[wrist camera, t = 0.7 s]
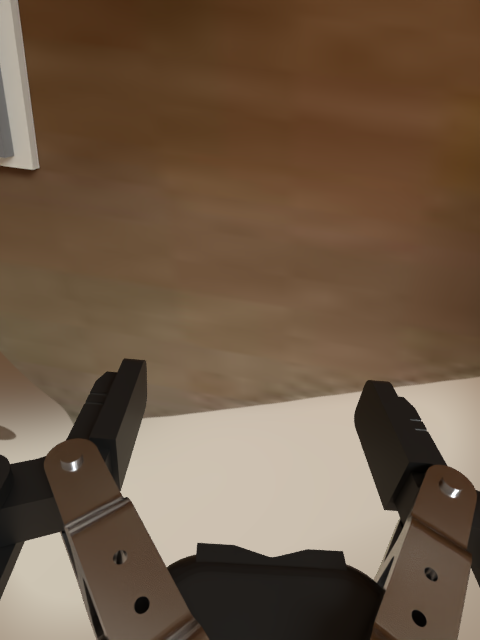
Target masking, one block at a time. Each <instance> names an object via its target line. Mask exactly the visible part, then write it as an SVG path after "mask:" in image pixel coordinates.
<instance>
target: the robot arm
mask: <svg viewBox="0 0 480 640" xmlns="http://www.w3.org/2000/svg"><path fill="white" fill-rule="evenodd" d="M146 401H147V368H146V361H145V360H136V359H123V361H122V363H121V366H120V368H119V370H118V373H117V372H106V373H105V374H104V375H102V376H101V377H100V378H99V379H98V380H96V382H95V384H94V386H93V388H92V390H91V392H90V394H89V396H88V398H87V400H86V403H85V404H84V406H83V408H82V410H81V412H80V414H79V416H78V418H77V420H76V422H75V424H74V426H73V428H72V430H71V432H70V434H69V436H68V438H67V439H66V441H64V442H62V443H60V444H58V445H56V446H55V447H54V448H52V450H51V451H50V452H49V453H48V454H47V456H45V457H42V458H39V459H35V460H29V461H25V462H19V463H14V464H10V463H9V461H8V459H7V458H5V457H4V456H2V455H0V599H1V596H2V594H3V592H4V589H5V587H6V585H7V582H8V580H9V577H10V575H11V573H12V570H13V568H14V565H15V563H16V560H17V558H18V556H19V553H20V551H21V549H22V546H23V544H24V542H25V541H26V540H30V539H34V538H38V537H42V536H46V535H50V534H53V533H57V532H60V533H61V536H62V539H63V542H64V544H65V547H66V550H67V553H68V556H69V558H70V562H71V564H72V567H73V570H74V573H75V576H76V579H77V582H78V585H79V588H80V591H81V594H82V598H83V601H84V604H85V607H86V610H87V613H88V617H89V620H90V622H91V625H92V628H93V631H94V634H95V636H96V640H457V638H458V633H459V627H460V623H461V617H462V612H463V607H464V600H465V595H466V590H467V585H468V580H469V574H470V569H471V568H472V571H473V573H474V575H475V578H476V580H477V582H478V584H479V587H480V491H477V490H475V488H474V486H473V485H472V483H471V482H470V481H469V480H468V478H466V477H465V476H464V475H463V474H462V473H460V472H459V471H457V470H455V469H453V468H451V467H448V466H447V464H446V463H445V461H444V459H443V457H442V456H441V454H440V452H439V450H438V449H437V447H436V445H435V443H434V441H433V440H432V438H431V436H430V434H429V433H428V432H427V431H426V427H425V425H424V424H423V422H421V418H420V416H419V415H418V413H417V411H416V409H415V408H414V407H413V406H412V405H411V404H410V403H409V402H408V401H407V400H406V399H405V398H404V397H398V396H397V394H396V392H395V390H394V388H393V386H392V384H391V383H390V382H384V381H373V380H368V381H367V382H366V383H365V386H364V388H363V391H362V394H361V396H360V400H359V402H358V405H357V407H356V410H355V415H354V422H355V428H356V431H357V434H358V436H359V439H360V442H361V445H362V448H363V451H364V453H365V456H366V459H367V462H368V465H369V468H370V471H371V473H372V476H373V479H374V482H375V485H376V488H377V490H378V493H379V496H380V499H381V502H382V505H383V508H384V510H393V511H398V513H399V516H400V519H399V521H398V523H397V525H396V527H395V530H394V532H393V535H392V537H391V540H390V542H389V545H388V547H387V550H386V552H385V555H384V558H383V560H382V562H381V565H380V568H379V570H378V572H377V574H376V576H375V578H374V580H373V579H371V578H370V577H369V576H367V575H366V574H364V573H363V572H361V571H359V570H358V569H356V568H353V567H351V566H349V565H346V563H345V559H344V554H343V552H342V551H325V550H309V549H308V550H303V551H299V552H295V553H291V554H286V555H282V556H278V557H268V556H265V555H262V554H259V553H256V552H252V551H250V550H247V549H244V548H241V547H238V546H235V545H222V544H205V543H198V544H197V554H196V555H193V556H189V557H186V558H183V559H180V560H179V561H177V562H175V563H173V564H171V565H169V566H168V567H166V566H165V564H164V562H163V560H162V558H161V556H160V554H159V553H158V550H157V549H156V547H155V545H154V543H153V541H152V539H151V537H150V536H149V534H148V532H147V530H146V528H145V526H144V524H143V522H142V520H141V519H140V517H139V515H138V513H137V511H136V509H135V507H134V505H133V504H132V502H131V501H130V499H129V498H127V497H126V498H123V496H122V495H121V493H120V491H121V488H122V485H123V481H124V478H125V474H126V471H127V468H128V464H129V461H130V458H131V454H132V451H133V448H134V444H135V441H136V438H137V434H138V431H139V428H140V424H141V421H142V418H143V414H144V411H145V407H146Z"/></svg>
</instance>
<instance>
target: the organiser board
mask: <svg viewBox="0 0 480 640" xmlns="http://www.w3.org/2000/svg"><path fill="white" fill-rule="evenodd" d="M0 166H7V167H15V168H22V169H30V170H35V169H38V168H39V161H38V153H37V145H36V137H35V130H34V122H33V114H32V107H31V99H30V91H29V83H28V76H27V68H26V60H25V53H24V45H23V37H22V30H21V22H20V14H19V6H18V0H0Z"/></svg>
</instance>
